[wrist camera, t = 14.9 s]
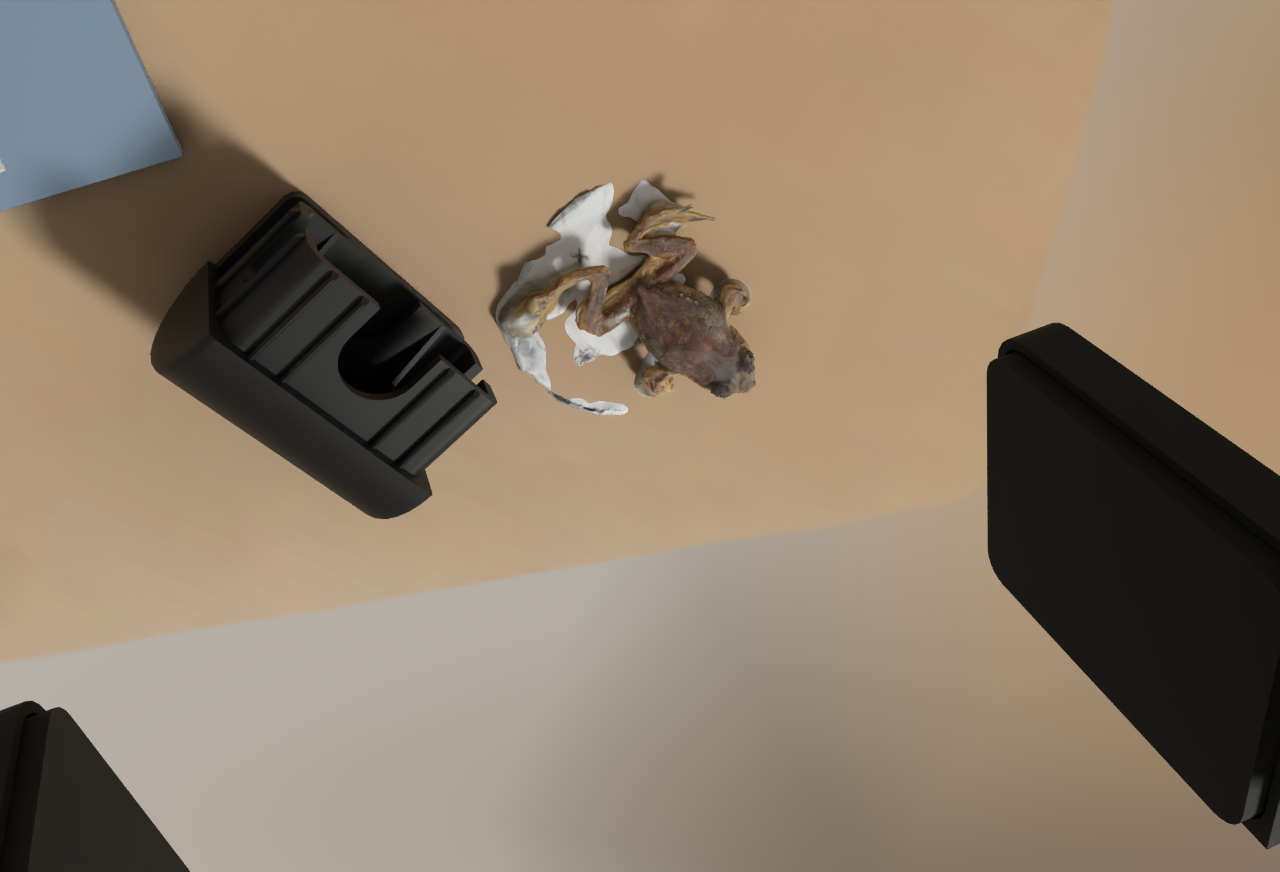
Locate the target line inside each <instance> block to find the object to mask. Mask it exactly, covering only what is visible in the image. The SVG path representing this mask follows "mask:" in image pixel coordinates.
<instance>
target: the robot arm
mask: <svg viewBox="0 0 1280 872" xmlns="http://www.w3.org/2000/svg"><path fill="white" fill-rule="evenodd" d="M987 490H988V491H987V493H988V494H987V495H988V555H989V559H990V562H991V565H992V567H993V570H994V572H995V574H996V575H997V577H998V579H999V580H1000V581H1001V583H1002V584H1003V585H1004V586H1005V587H1006V588H1007V589H1008V590H1009V592H1010V593H1011V594H1012V595H1013V596H1014V597H1015V598H1016V599H1017V600H1018V601H1019V602H1020V603H1021V604H1022V606H1023V607H1024V608H1025V609H1026V610H1027V611H1028V612H1029V613H1030V614H1031V615H1032V617H1033V618H1034V619H1035V620H1036V621H1037V622H1038V623H1039V624H1040V625H1041V626H1042V627H1043V628H1044V629H1045V631H1047V633H1048V634H1049V635H1050V636H1051V637H1052V638H1053V639H1054V640H1055V641H1056V642H1057V643H1058V645H1059V646H1060V647H1061V648H1062V649H1063V650H1064V651H1065V652H1066V653H1067V654H1068V655H1069V656H1070V658H1071V659H1072V660H1073V661H1074V662H1075V663H1076V664H1077V665H1078V666H1079V667H1080V668H1081V669H1082V671H1083V672H1084V673H1085V674H1086V675H1087V676H1088V677H1089V678H1090V679H1091V680H1092V681H1093V682H1094V683H1095V685H1097V687H1098V688H1099V689H1100V690H1101V691H1102V692H1103V693H1104V694H1105V695H1106V696H1107V697H1108V699H1109V700H1110V701H1111V702H1112V703H1113V704H1114V705H1115V706H1116V707H1117V708H1118V709H1119V710H1120V712H1121V713H1122V714H1123V715H1124V716H1125V717H1126V718H1127V719H1128V720H1129V721H1130V722H1131V723H1132V725H1133V726H1134V727H1135V728H1136V729H1137V730H1138V731H1139V732H1140V733H1141V734H1142V735H1143V736H1144V737H1145V739H1146V740H1147V741H1148V742H1149V743H1150V744H1151V745H1152V746H1153V747H1154V748H1155V749H1156V751H1157V752H1158V753H1159V754H1160V755H1161V756H1162V757H1163V758H1164V759H1165V760H1166V761H1167V762H1168V763H1169V765H1170V766H1171V767H1172V768H1173V769H1174V770H1175V771H1176V772H1177V773H1178V774H1179V775H1180V776H1181V778H1183V780H1184V781H1185V782H1186V783H1187V784H1188V785H1189V786H1190V787H1191V788H1192V789H1193V790H1194V791H1195V793H1196V794H1197V795H1198V796H1199V797H1200V798H1201V799H1202V800H1203V801H1204V802H1205V803H1206V805H1207V806H1208V807H1209V808H1210V809H1211V810H1212V811H1213V812H1214V813H1215V814H1216V815H1217V816H1218V817H1219V818H1221V819H1222V820H1224V821H1226V822H1227V823H1230V824H1234V825H1235V824H1238V823H1242V824H1243V825H1244V826H1245V827H1246V828H1247V829H1248V830H1249V831H1250V832H1251V833H1252V834H1253V835H1254V836H1255V837H1256V839H1257V840H1258V841H1259V842H1260V843H1261V844H1262V845H1263V846H1264V847H1265V848H1266V849H1269V848H1271V847H1273V846H1276V845H1278V844H1279V843H1280V476H1279V475H1278V474H1276V473H1275V472H1273V471H1272V470H1271V469H1269V468H1268V467H1266V466H1265V465H1263V464H1262V463H1261V462H1259V461H1258V460H1256V459H1255V458H1253V457H1252V456H1251V455H1249V454H1248V453H1246V452H1245V451H1244V450H1242V449H1241V448H1239V447H1238V446H1236V445H1235V444H1233V443H1232V442H1231V441H1229V440H1228V439H1227V438H1225V437H1224V436H1222V435H1221V434H1219V433H1218V432H1217V431H1215V430H1214V429H1212V428H1211V427H1209V426H1208V425H1207V424H1205V423H1204V422H1202V421H1201V420H1199V419H1198V418H1196V417H1195V416H1194V415H1193V414H1191V413H1190V412H1188V411H1187V410H1185V409H1184V408H1183V407H1181V406H1180V405H1178V404H1177V403H1176V402H1174V401H1173V400H1171V399H1170V398H1168V397H1167V396H1166V395H1164V394H1163V393H1161V392H1160V391H1159V390H1157V389H1156V388H1154V387H1153V386H1151V385H1150V384H1149V383H1147V382H1146V381H1144V380H1143V379H1141V378H1140V377H1139V376H1137V375H1135V374H1134V373H1133V372H1132V371H1130V370H1129V369H1127V368H1126V367H1124V366H1123V365H1122V364H1120V363H1119V362H1117V361H1116V360H1115V359H1113V358H1112V357H1110V356H1109V355H1108V354H1106V353H1105V352H1103V351H1102V350H1100V349H1099V348H1098V347H1096V346H1095V345H1093V344H1092V343H1091V342H1089V341H1088V340H1086V339H1085V338H1083V337H1082V336H1081V335H1079V334H1078V333H1076V332H1075V331H1074V330H1072V329H1070V328H1069V327H1067V326H1065V325H1063V324H1061V323H1051V324H1048V325H1046V326H1043V327H1040V328H1038V329H1035V330H1032V331H1030V332H1027V333H1024V334H1021V335H1019V336H1016V337H1013V338H1010V339H1008V340H1006V341H1005V342H1003V343H1002V344H1001V346H1000V348H999V351H998V358H997V359H994V360H993V361H991V362H990V363H989V365H988V369H987ZM0 872H190V871H189V869H188V868H187V867H186V865H185V864H184V863H183V861H182V860H181V859H180V858H179V856H178V855H177V854H176V852H175V851H174V850H173V848H172V847H171V846H170V845H169V843H168V842H167V841H166V839H165V838H164V837H163V835H162V834H161V833H160V831H159V830H158V829H157V828H156V826H155V825H154V824H153V823H152V821H151V820H150V818H149V817H148V816H147V815H146V813H145V812H144V811H143V809H142V808H141V807H140V805H139V804H138V803H137V802H136V800H135V799H134V798H133V796H132V795H131V794H130V792H129V791H128V790H127V789H126V787H125V786H124V785H123V783H122V782H121V781H120V780H119V778H118V777H117V775H116V774H115V773H114V772H113V770H112V769H111V768H110V767H109V765H108V764H107V762H106V761H105V760H104V759H103V757H102V756H101V755H100V753H99V752H98V751H97V749H96V748H95V747H94V746H93V744H92V743H91V742H90V740H89V739H88V738H87V737H86V735H85V734H84V733H83V731H82V730H81V729H80V727H79V726H78V725H77V723H76V722H75V721H74V720H73V718H72V717H71V716H70V715H69V714H68V712H67V711H66V710H64V709H62V708H60V707H57V708H53V709H50V710H48V711H45V710H44V709H43V708H42V707H41V706H40V705H39V704H37V703H36V702H34V701H26V702H23V703H20V704H17V705H15V706H12V707H9V708H6V709H4V710H1V711H0Z"/></svg>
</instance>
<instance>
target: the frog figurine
mask: <svg viewBox="0 0 1280 872" xmlns="http://www.w3.org/2000/svg"><path fill="white" fill-rule="evenodd" d="M613 193H614V189H613V186H612V183H608V184H605V185H601V186H599V187H598V188H595V189H593V190H591V191H589V192H587V193H585V194H584V195H582V196H580V197H577V198H576V199H574V201H573V202H572V203H570V204H569V205H568V206H567V207H566V208H565V209H564V210H563V211H562V212H561V213H560V214H559V215H558V216H557V217H556V218H555V219H554V220H553V221H552V223H551V224H550V226H549V227H548V228H551V229H553V230H555V231H557V232H559V233H560V234H561V238H560V240H559V241H557V242H555V243H553V244H551V245H549V246H546V254H545V255H544V256H542V257H540V258H539V259H536V260H532V261H529V262H527V261H526V262H525V264H524V266H523V268H522V271H521V273H520V275H519V278H518V280H517V281H515V282H514V283H513V284H512V286H511V287H510V289H509V290H508V291H507V292H506V294H505V295H504V296H503V297H502V299H501V300H500V301H499V303H498V305H497V308H496V313H495V317H496V322H497V324H498V326H499V328H500V330H501V333H502V335H503V337H504V340H505V342H506V344H507V345H508V346H509V347H510V348H511V350H512V352H513V355H514V358H515V361H516V362H517V364H518V365H519V367H520V369H521V371H522V373H524V372H526V373H528V374H530V375H532V376H534V378H535V381H536V383H537V384H541V385H543V386H544V387H545V388H546V389H547V390H548V393H549V394H551V395H552V396H553V397H554V399H556V401H558V402H560V403H562V404H564V405H567V406H570V407H573V408H576V409H582V410H586V411H588V412H591V413H593V414H597V415H608V414H612V415H623V414H625V413H627V411H628V408H627V407H626V406H625V405H623V404H620V403H612V402H604V401H598V402H594V403H588V402H586V401H585V400H584V399H579V398H575V399H570V400H567V399H564V397H561V396H559V395H557V394H554V393H553V392H552V391H551V388H550V386H551V384H550V379H549V377H548V375H547V372H546V369H545V365H546V351H545V344H544V342H543V340H542V339H541V337H540V336H539V335H538V332H537V331H538V330H539V329H540V327H541V326H542V325H543V323H544V321H545V320H550V319H552V318H554V317H556V316H558V315H560V314H562V313H563V312H564V311H565V310H566V309H567V307H568V305H569V304H570V303H571V302H572V301H574V300H576V301H577V307H576V309H575V311H574V312H573V313H572V314H571V315H570V316H569V318H568V319H567V320H566V322H565V330H566V332H567V334H568V335H569V337H570V338H571V339H572V340H573V341H574V342H575V343H576V347H575V350H574V361H575V363H576V364H578V365H581V363H582V364H583V365H584V362H586V363H588V362H590V361H593V360H594V359H595V358H596V357H597V356H599V355H600V354H604V355H608V356H614V355H616V354H618V353H619V352H621V351H624V350H627V349H629V348H631V347H632V346H633V345H634V344H635V343H636V340H637V338H638V337H639V338H640V341H641V342H643V343H645V346H646V348H647V350H648V351H649V352H648V353H647V355H646V356H645V358H644V359H643V361H642V362H641V364H640V367H639V369H638V371H637V373H636V377H635V380H634V385H635V388H636V389H637V391H638V392H639V393H640V394H641V395H642V396H645V397H647V396H654V397H657V396H661V395H662V394H663V393H667V392H672V391H673V390H674V389H675V387H674V384H673V383H672V382H673V378H672V377H673V376H676V375H679V374H680V375H683V376H686V377H688V378H689V379H691V380H692V381H693V382H695V383H697V384H698V385H699V386H701V387H702V388H704V389H707V390H709V391H711V393H712V394H714V395H715V396H717V397H720V398H721V397H723V398H726V397H728V396H730V395H732V394H733V393H745V392H746V393H747V392H749V391H750V390H751V389H752V388H753V387H754V386H755V384H756V382H755V380H754V370H755V367H754V360H755V358H754V357H753V353H752V352H751V351H750V348H749V346H748V345H747V343H746V341H745V340H744V338H743V337H742V336H741V335H740V333H739V332H738V331H737V330H736V329H735V328H734V327H732V326H731V325H730V324H729V318H730V316H729V315H740V314H741V312H742V311H743V309H744V308H745V307H746V306H748V305H749V304H750V298H751V292H750V290H749V288H748V287H747V286H746V285H745V284H744V283H743V282H742V281H740V280H736V279H725V280H722V281H720V282H719V283H718V284H717V285H716V286H715V287H714V289H713V291H712V292H711V294H710V296H707V295H706V294H704V293H703V292H701V291H698V290H696V289H692V288H689V287H687V286H685V285H683V284H684V282H685V280H686V278H685V276H684V275H683V274H681V273H678V272H680V271H681V270H682V269H683V268H684V267H685V266H686V265H687V264H688V263H689V262H690V261H691V260H692V259H693V258H694V257H695V256H696V254H697V248H696V244H695V241H694V240H693V239H692V238H688V237H680V236H676V231H677V230H679V229H681V228H683V227H684V226H686V225H687V224H688V223H690V222H692V221H698V220H717V219H716V218H713V217H709V216H706V215H701V214H699V213H695V212H692V209H691V208H692V207H693V205H692V204H690V205H688V206H683V205H680V204H677V203H674V202H672V201H670V200H669V199H668V198H666V197H665V196H664V195H663V194H662V193H661V192H660V191H659V190H658V189H657V188H655V187H653V186H651V185H650V184H649V183H648V182H647V181H644V180H641V182H640V183H639V185H638V186H637V187H636V188H635V190H634V191H633V193H632V195H631V197H630V200H629V201H628V202H627V203H626V204H625V205H623V206H621V207H620V208H619V209H618V212H619V214H620V215H621V216H623V217H630V218H632V219H633V220H634V221H636V222H638V224H637V225H636V226H635V228H634V230H633V232H632V233H631V234H630V235H629V236H628V237H627V239H626V240H625V241H624V243H623V245H624V249H625V251H627V252H641V253H646V254H648V255H649V256H648V257H647V256H646V255H645V254H642V255H640V256H632V255H629V254H627V253H625V252H623V251H621V250H619V249H617V248H614V247H612V246H609V241H610V237H611V234H612V227H611V225H610V224H609V222H608V221H607V219H606V213H607V212H608V211H609V209H610V206H611V204H612V200H613ZM585 354H586V355H585ZM593 357H594V358H593ZM582 367H583V366H582Z"/></svg>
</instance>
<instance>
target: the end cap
mask: <svg viewBox="0 0 1280 872" xmlns="http://www.w3.org/2000/svg"><path fill="white" fill-rule="evenodd" d="M150 355H151V364H152V366H153V367H154V369H155V370H156V371H157V372H158V373H159V374H160V375H162V376H163V377H165V378H166V379H168V380H169V381H171V382H172V383H174V384H175V385H177V386H178V387H180V388H181V389H183V390H184V391H185V392H187V393H188V394H190V395H191V396H193V397H194V398H196V399H197V400H199V401H200V402H202V403H203V404H205V405H206V406H208V407H209V408H211V409H212V410H214V411H215V412H216V413H218V414H219V415H221V416H222V417H224V418H225V419H227V420H228V421H230V422H231V423H233V424H234V425H236V426H237V427H239V428H240V429H242V430H243V431H244V432H246V433H247V434H249V435H250V436H252V437H253V438H255V439H256V440H258V441H259V442H261V443H262V444H264V445H265V446H267V447H268V448H270V449H271V450H273V451H274V452H275V453H277V454H278V455H280V456H281V457H283V458H284V459H286V460H287V461H289V462H290V463H292V464H293V465H295V466H296V467H298V468H299V469H301V470H302V471H303V472H305V473H306V474H308V475H309V476H311V477H312V478H314V479H315V480H317V481H318V482H320V483H321V484H323V485H324V486H326V487H327V488H329V489H330V490H331V491H333V492H334V493H336V494H337V495H339V496H340V497H342V498H343V499H345V500H346V501H348V502H349V503H351V504H352V505H354V506H355V507H357V508H358V509H360V510H361V511H362V512H364V513H365V514H367V515H369V516H371V517H374V518H378V519H389V518H394V517H398V516H400V515H402V514H405V513H407V512H409V511H411V510H412V509H414V508H416V507H417V506H419V505H420V504H422V503H423V502H424V501H425V500H427V499H428V498H429V497H430V496H431V495H432V491H431V488H430V484H429V481H428V478H427V474H426V471H425V469H426V468H427V467H428V466H429V465H430V464H431V463H432V462H433V461H434V460H436V459H437V458H438V457H439V456H440V455H441V454H442V453H443V452H444V451H445V450H446V449H448V448H449V447H450V446H451V445H452V444H453V443H454V442H455V441H456V440H457V439H458V438H459V437H461V436H462V435H463V434H464V433H465V432H466V431H467V430H468V429H469V428H470V427H471V426H472V425H474V424H475V423H476V422H477V421H478V420H479V419H480V418H481V417H482V416H483V415H484V414H486V413H487V412H488V411H489V410H490V409H491V408H492V407H493V406H494V405H495V404H496V403H497V400H496V398H495V396H494V393H493V391H492V389H491V387H490V385H489V384H488V383H486V382H485V381H484V380H481V381H480V382H479V383H478V384H477V385H476V384H474V383H473V382H472V381H471V380H472V379H473V378H474V377H475V376H476V375H477V374H478V373H480V372H481V371H482V370H483V368H482V366H481V364H480V361H479V359H478V357H477V355H476V353H475V352H474V350H473V349H472V348H471V347H470V346H469V344H468V343H467V342H466V341H464V336H463V334H462V332H461V330H460V329H459V327H458V326H457V325H456V324H454V323H453V322H452V321H451V320H450V319H449V318H447V317H446V316H445V315H444V314H443V313H442V312H441V311H439V310H438V309H437V308H436V307H435V306H434V305H433V304H431V303H430V302H429V301H428V300H427V299H426V298H425V297H423V296H422V295H421V294H420V293H419V292H418V291H416V290H415V289H414V288H413V287H412V286H411V285H410V284H408V283H407V282H406V281H405V280H404V279H403V278H402V277H400V276H399V275H398V274H397V273H396V272H395V271H393V270H392V269H391V268H390V267H389V266H388V265H387V264H385V263H384V262H383V261H382V260H381V259H380V258H379V257H377V256H376V255H375V254H374V253H373V252H372V251H371V250H369V249H368V248H367V247H366V246H365V245H364V244H362V243H361V242H360V241H359V240H358V239H357V238H356V237H354V236H353V235H352V234H351V233H350V232H349V231H348V230H346V229H345V228H344V227H343V226H342V225H341V224H340V223H338V222H337V221H336V220H335V219H334V218H333V217H331V216H330V215H329V214H328V213H327V212H326V211H325V210H323V209H322V208H321V207H320V206H319V205H318V204H317V203H315V202H314V201H313V200H312V199H311V198H310V197H308V196H307V195H305V194H303V193H301V192H291V193H289V194H288V195H286V196H284V197H283V198H282V199H281V200H280V201H279V202H278V203H277V204H276V205H275V206H274V207H273V208H272V209H271V210H270V211H269V212H268V213H267V214H266V215H265V216H264V217H263V218H262V219H261V220H260V221H259V222H258V223H257V224H256V225H255V226H254V227H253V228H252V229H251V230H250V231H249V232H248V233H247V234H246V235H245V236H244V237H243V238H242V239H241V240H240V241H239V242H238V243H237V244H236V245H234V246H233V247H232V248H231V249H230V250H229V251H228V252H227V253H226V254H225V255H224V256H223V257H222V258H221V260H220V261H219V262H218V263H217V264H216V265H215V264H213V263H212V262H209V261H208V262H207V263H206V264H205V265H204V266H203V267H202V268H201V269H200V270H199V271H198V272H197V274H196V275H195V276H194V277H193V278H192V279H191V281H190V282H189V283H188V284H187V285H186V287H185V288H184V289H183V291H182V292H181V293H180V294H179V296H178V297H177V299H176V300H175V301H174V303H173V304H172V306H171V307H170V309H169V310H168V312H167V314H166V316H165V317H164V319H163V321H162V322H161V324H160V327H159V329H158V331H157V333H156V335H155V338H154V341H153V344H152V349H151V354H150Z"/></svg>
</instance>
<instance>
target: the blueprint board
mask: <svg viewBox="0 0 1280 872" xmlns="http://www.w3.org/2000/svg"><path fill="white" fill-rule="evenodd" d="M179 157H182V148H181V145H180V143H179V141H178V139H177V137H176V135H175V132H174V130H173V128H172V126H171V124H170V122H169V119H168V117H167V115H166V113H165V111H164V108H163V106H162V104H161V102H160V100H159V98H158V95H157V93H156V91H155V89H154V87H153V84H152V82H151V80H150V78H149V76H148V74H147V71H146V69H145V67H144V65H143V63H142V61H141V58H140V56H139V54H138V52H137V50H136V47H135V45H134V43H133V41H132V39H131V37H130V34H129V32H128V30H127V28H126V26H125V24H124V21H123V19H122V17H121V15H120V13H119V10H118V8H117V6H116V4H115V2H114V0H0V211H3V210H6V209H9V208H13V207H16V206H19V205H23V204H26V203H29V202H33V201H36V200H39V199H43V198H46V197H49V196H53V195H56V194H59V193H63V192H66V191H69V190H72V189H76V188H79V187H82V186H86V185H89V184H92V183H96V182H99V181H102V180H106V179H109V178H112V177H116V176H119V175H122V174H126V173H129V172H132V171H136V170H139V169H142V168H146V167H149V166H152V165H156V164H159V163H162V162H166V161H169V160H172V159H176V158H179Z"/></svg>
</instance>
